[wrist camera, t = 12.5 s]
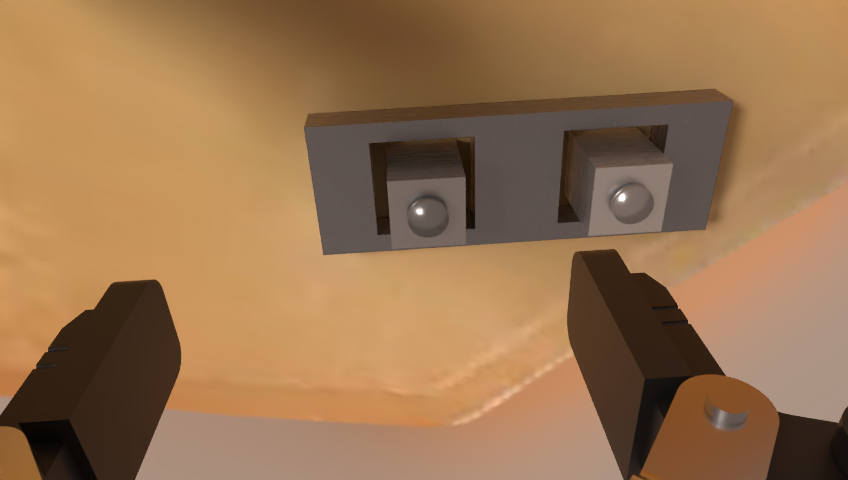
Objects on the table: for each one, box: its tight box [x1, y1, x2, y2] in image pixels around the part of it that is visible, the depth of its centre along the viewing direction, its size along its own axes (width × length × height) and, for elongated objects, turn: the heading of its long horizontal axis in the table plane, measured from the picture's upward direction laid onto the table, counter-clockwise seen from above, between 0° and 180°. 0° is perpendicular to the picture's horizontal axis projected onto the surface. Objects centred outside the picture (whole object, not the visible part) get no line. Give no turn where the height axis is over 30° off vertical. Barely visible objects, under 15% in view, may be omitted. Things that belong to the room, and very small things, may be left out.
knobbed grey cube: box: [387, 139, 466, 249], centre depth 39 cm, size 4×4×7 cm
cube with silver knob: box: [564, 127, 673, 236], centre depth 39 cm, size 4×4×7 cm
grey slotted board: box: [304, 89, 733, 255], centre depth 41 cm, size 9×26×2 cm, turn 93°
